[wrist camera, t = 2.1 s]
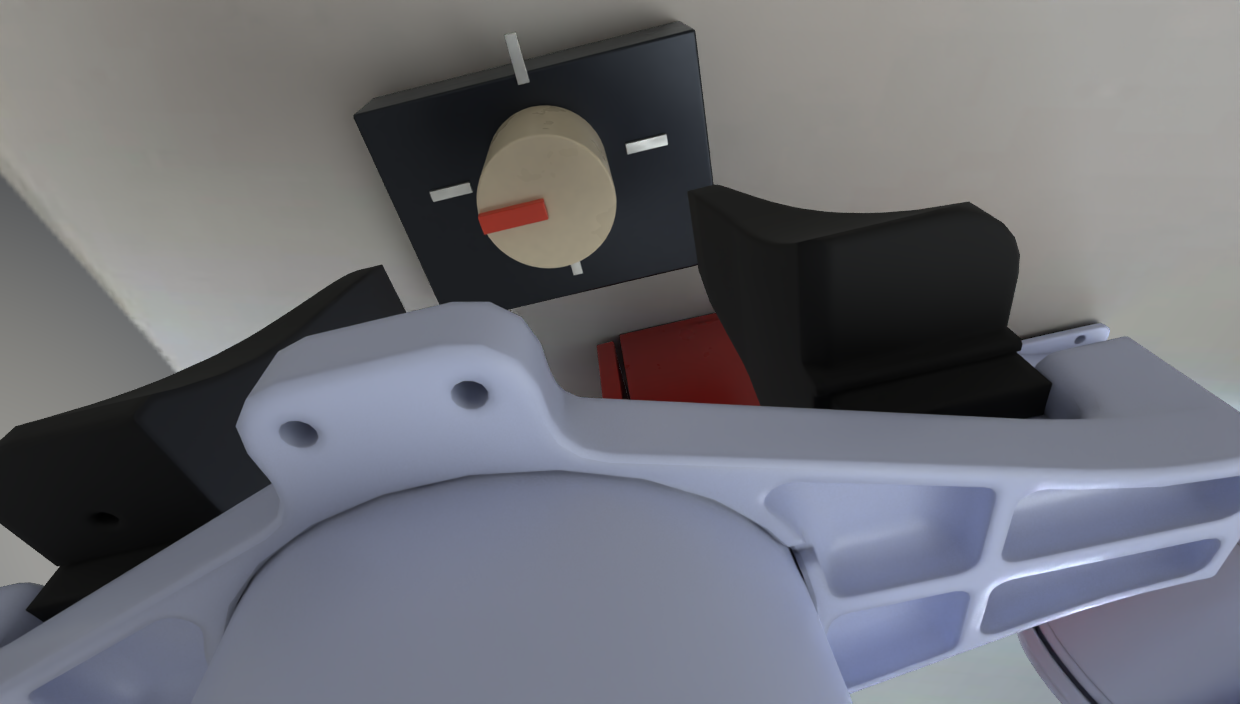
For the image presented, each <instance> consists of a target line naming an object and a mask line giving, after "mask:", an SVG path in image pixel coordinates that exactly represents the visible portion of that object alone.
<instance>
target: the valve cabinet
mask: <svg viewBox="0 0 1240 704" xmlns="http://www.w3.org/2000/svg"><path fill="white" fill-rule="evenodd" d="M620 343H621V349H622V355H623V360H624V366H625V372H626V378H627V384H628V389H629V395H630V400H647V401H668V402H688V403H709V404H729V405H750V406H760V403H759V401H758V398H757V395H756V393H755V390H754V388H753V385H752V382H751V380H750V377H749V375H748V373H747V371H746V368H745V366H744V364H743V362H742V360H741V358H740V357H739V355H738V353H737V351H736V349H735V347H734V346H733V344H732V342H731V340H730V338H729V336H728V335H727V333H726V331H725V329H724V327H723V325H722V324H721V322H720V320H719V318H718V316H717V314H716V313H712V314H708V315H704V316H699V317H695V318H691V319H686V320H682V321H678V322H673V323H669V324H665V325H660V326H656V327H652V328H647V329H643V330H639V331H634V332H630V333H626V334H621V335H620Z"/></svg>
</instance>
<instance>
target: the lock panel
mask: <svg viewBox="0 0 1240 704" xmlns="http://www.w3.org/2000/svg"><path fill="white" fill-rule="evenodd" d="M504 37H505V41H506V44H507V48H508V51H509V55H510V58H511V61H512V64H508V65H504V66H500V67H496V68H492V69H488V70H484V71H480V72H476V73H472V74H468V75H464V76H460V77H456V78H452V79H448V80H444V81H440V82H436V83H433V84H429V85H425V86H421V87H417V88H413V89H409V90H405V91H401V92H397V93H393V94H389V95H385V96H381V97H377V98H373V99H372V100H371V101H370V102H369V103H368V104H366V105H365V106H364V107H363V108H362V109H360V110H359V111H358V112H357V113H356V114H354V115H353V117H354V120H355V122H356V124H357V126H358V128H359V131H360V133H361V135H362V137H363V139H364V141H365V144H366V146H367V148H368V150H369V152H370V155H371V157H372V159H373V161H374V163H375V165H376V168H377V170H378V172H379V174H380V176H381V178H382V181H383V183H384V185H385V187H386V189H387V192H388V194H389V196H390V198H391V200H392V202H393V205H394V207H395V209H396V211H397V213H398V215H399V218H400V220H401V222H402V224H403V226H404V228H405V231H406V233H407V235H408V237H409V239H410V242H411V244H412V246H413V248H414V250H415V252H416V255H417V257H418V259H419V261H420V263H421V265H422V268H423V270H424V272H425V274H426V276H427V279H428V281H429V283H430V285H431V287H432V289H433V292H434V294H435V296H436V298H437V300H438V302H439V305H441V304H445V303H449V302H491V303H493V304H495V305H497V306H499V307H502V308H504V309H506V310H508V309H513V308H517V307H521V306H525V305H530V304H534V303H538V302H543V301H547V300H551V299H555V298H560V297H564V296H568V295H572V294H577V293H581V292H585V291H589V290H594V289H598V288H602V287H606V286H611V285H615V284H619V283H623V282H628V281H632V280H636V279H641V278H645V277H649V276H653V275H658V274H662V273H666V272H670V271H675V270H679V269H683V268H687V267H692V266H696V265H698V261H697V255H696V248H695V241H694V234H693V227H692V221H691V214H690V207H689V200H688V193H687V191H690V190H694V189H698V188H702V187H706V186H710V185H714V184H713V176H712V167H711V159H710V150H709V142H708V134H707V125H706V117H705V108H704V100H703V92H702V83H701V75H700V66H699V58H698V49H697V41H696V33H695V30H694V29H693V28H691V27H689V26H687V25H686V24H684V23H682V22H680V21H678V22H674V23H670V24H666V25H662V26H658V27H654V28H650V29H646V30H642V31H638V32H634V33H630V34H626V35H622V36H618V37H614V38H610V39H606V40H602V41H598V42H595V43H591V44H587V45H583V46H579V47H575V48H571V49H567V50H563V51H559V52H555V53H551V54H547V55H543V56H539V57H535V58H531V59H527V60H524V59H523V56H522V52H521V48H520V45H519V41H518V38H517V34H516V32H513V33H509V34H505V35H504ZM542 105H549V106H557V107H561V108H564V109H567V110H569V111H572V112H574V113H575V114H577V115H579V116H580V117H582V118H583V119H584V120H586V121H587V122H588V123H589V124H590V125H591V126H592V128H593V129H594V130H595V131H596V133H597V134H598V136H599V138H600V139H601V142H602V144H603V146H604V149H605V153H606V156H607V160H608V164H609V168H610V172H611V176H612V179H613V183H614V187H615V192H616V215H615V219H614V223H613V225H612V228H611V230H610V232H609V234H608V236H607V238H606V239H605V240H604V242H603V243H602V244H601V246H600V247H599V248H598V249H597V250H596V251H594V252H593V253H592V254H591V255H589V256H588V257H586V258H585V259H583V260H581V261H579V262H577V263H574V264H572V265H568V266H565V267H559V268H539V267H533V266H529V265H526V264H523V263H521V262H519V261H516V260H514V259H513V258H511V257H509V256H508V255H506V254H505V253H504V252H502V251H501V250H500V249H499V248H498V247H497V246H496V245H495V244H494V243H493V242H492V240H491V239H490V238H489V236H488V235H487V234H486V235H484V233H483V230H482V228H481V225H480V222H479V220H478V215H479V214H478V209H477V188H478V183H479V179H480V176H481V173H482V170H483V166H484V163H485V160H486V157H487V154H488V151H489V147H490V144H491V142H492V139H493V137H494V135H495V133H496V132H497V130H498V129H499V127H500V126H501V125H502V124H503V123H504V122H505V121H506V120H507V119H508V118H509V117H511V116H512V115H514V114H515V113H517V112H519V111H521V110H523V109H526V108H529V107H534V106H542Z"/></svg>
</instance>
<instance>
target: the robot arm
mask: <svg viewBox="0 0 1240 704" xmlns="http://www.w3.org/2000/svg"><path fill="white" fill-rule="evenodd" d="M687 193H688V200H689V207H690V214H691V221H692V227H693V234H694V241H695V248H696V255H697V261H698V268H699V272H700V275H701V278H702V281H703V284H704V287H705V290H706V293H707V295H708V298H709V301H710V303H711V305H712V307H713V309H714V311H715V312H716V314H717V316H718V318H719V320H720V322H721V324H722V325H723V327H724V329H725V331H726V333H727V335H728V336H729V338H730V340H731V342H732V344H733V346H734V347H735V349H736V351H737V353H738V355H739V357H740V358H741V360H742V362H743V364H744V366H745V368H746V371H747V373H748V375H749V377H750V380H751V382H752V385H753V388H754V390H755V393H756V395H757V398H758V401H759V403H760V406H750V405H729V404H709V403H688V402H668V401H647V400H627V399H606V398H586V397H578V396H576V395H573V394H571V393H569V392H567V391H565V390H563V389H562V388H561V387H560V386H559V385H558V384H557V382H556V380H555V378H554V376H553V375H552V373H551V371H550V368H549V365H548V362H547V360H546V357H545V354H544V351H543V348H542V346H541V343H540V341H539V340H538V338H537V337H536V336H535V334H534V333H533V332H532V330H531V329H530V328H529V326H528V325H527V323H526V322H525V321H524V319H523V318H522V317H521V316H519V315H516V314H514V313H512V312H510V311H508V310H506V309H504V308H502V307H499V306H497V305H495V304H493V303H491V302H449V303H445V304H441V305H437V306H432V307H428V308H424V309H420V310H415V311H411V312H407V313H406V311H405V309H404V307H403V305H402V303H401V301H400V299H399V297H398V295H397V293H396V291H395V289H394V287H393V285H392V283H391V281H390V279H389V277H388V275H387V273H386V271H385V269H384V267H383V265H378V266H374V267H370V268H366V269H361V270H357V271H355V272H352V273H350V274H348V275H346V276H344V277H342V278H340V279H338V280H337V281H335V282H333V283H332V284H330V285H329V286H327V287H326V288H324V289H323V290H321V291H320V292H318V293H317V294H315V295H314V296H312V297H311V298H309V299H308V300H306V301H305V302H303V303H302V304H300V305H299V306H297V307H296V308H294V309H293V310H291V311H290V312H288V313H287V314H285V315H284V316H282V317H280V318H279V319H277V320H276V321H274V322H273V323H271V324H269V325H268V326H266V327H265V328H263V329H262V330H260V331H259V332H257V333H255V334H253V335H252V336H250V337H248V338H247V339H245V340H243V341H241V342H239V343H238V344H236V345H234V346H232V347H230V348H228V349H226V350H224V351H222V352H220V353H219V354H217V355H215V356H213V357H211V358H209V359H206V360H204V361H202V362H200V363H197V364H195V365H193V366H191V367H188V368H186V369H184V370H182V371H179V372H177V373H175V374H173V375H171V376H168V377H166V378H163V379H161V380H159V381H156V382H153V383H151V384H148V385H146V386H143V387H140V388H138V389H135V390H132V391H129V392H127V393H124V394H121V395H118V396H116V397H112V398H110V399H107V400H104V401H100V402H97V403H95V404H91V405H88V406H84V407H81V408H78V409H74V410H71V411H68V412H64V413H61V414H57V415H54V416H51V417H48V418H44V419H41V420H37V421H33V422H29V423H26V424H23V425H19V426H15V427H14V428H13V429H12V430H11V431H10V432H9V433H8V434H7V435H6V436H5V437H3V438H2V439H1V440H0V524H2V525H3V526H4V527H6V528H7V529H8V530H10V531H11V532H12V533H13V534H15V535H16V536H17V537H19V538H20V539H21V540H23V541H24V542H25V543H27V544H28V545H30V546H31V547H32V548H33V549H35V550H36V551H37V552H39V553H40V554H41V555H43V556H44V557H45V558H47V559H48V560H49V561H51V562H52V563H53V564H55V565H56V566H60V567H59V568H58V570H57V571H56V572H55V573H54V575H53V576H52V577H51V578H50V580H49V581H48V582H47V583H46V585H45V586H43V585H40V584H35V583H17V584H12V585H7V586H3V587H0V704H853V702H852V700H851V697H850V695H849V694H851V693H854V692H856V691H859V690H862V689H865V688H867V687H870V686H873V685H876V684H878V683H881V682H884V681H887V680H889V679H892V678H895V677H897V676H900V675H903V674H906V673H908V672H911V671H914V670H917V669H919V668H922V667H925V666H928V665H930V664H933V663H936V662H939V661H941V660H944V659H947V658H949V657H952V656H955V655H958V654H960V653H963V652H966V651H969V650H971V649H974V648H977V647H980V646H982V645H985V644H988V643H991V642H993V641H996V640H999V639H1001V638H1004V637H1007V636H1010V635H1012V634H1015V633H1017V635H1018V638H1019V641H1020V643H1021V646H1022V648H1023V650H1024V652H1025V654H1026V655H1027V657H1028V659H1029V660H1030V662H1031V664H1032V665H1033V667H1034V668H1035V670H1036V671H1037V673H1038V674H1039V676H1040V677H1041V678H1042V680H1043V681H1044V682H1045V684H1046V685H1047V686H1048V688H1049V689H1050V690H1051V691H1052V693H1053V694H1054V695H1055V696H1056V698H1057V699H1058V700H1059V701H1060V702H1061V703H1062V704H1240V412H1239V411H1237V410H1236V409H1234V408H1233V407H1232V406H1230V405H1229V404H1227V403H1226V402H1224V401H1223V400H1221V399H1220V398H1218V397H1217V396H1215V395H1214V394H1212V393H1211V392H1209V391H1208V390H1206V389H1205V388H1203V387H1202V386H1200V385H1199V384H1197V383H1196V382H1194V381H1193V380H1192V379H1190V378H1189V377H1187V376H1186V375H1184V374H1183V373H1181V372H1180V371H1178V370H1177V369H1175V368H1174V367H1172V366H1171V365H1169V364H1168V363H1166V362H1165V361H1163V360H1162V359H1160V358H1159V357H1157V356H1156V355H1155V354H1153V353H1152V352H1150V351H1149V350H1147V349H1146V348H1144V347H1143V346H1141V345H1140V344H1138V343H1137V342H1135V341H1134V340H1132V339H1131V338H1129V337H1119V338H1115V339H1111V340H1107V339H1108V336H1109V333H1110V329H1109V327H1107V326H1106V325H1105V324H1102V323H1096V324H1092V325H1087V326H1083V327H1078V328H1074V329H1070V330H1065V331H1061V332H1056V333H1052V334H1047V335H1043V336H1038V337H1034V338H1029V339H1025V340H1021V338H1020V337H1019V336H1017V335H1016V334H1015V333H1014V332H1013V331H1011V330H1010V329H1009V328H1008V327H1007V325H1008V320H1009V315H1010V311H1011V306H1012V302H1013V297H1014V292H1015V288H1016V283H1017V279H1018V274H1019V259H1020V254H1019V250H1018V247H1017V243H1016V240H1015V237H1014V236H1013V234H1012V233H1011V232H1010V231H1009V229H1008V228H1007V227H1006V226H1005V225H1004V223H1002V222H1001V221H999V220H997V219H996V218H994V217H993V216H991V215H989V214H988V213H986V212H985V211H983V210H981V209H980V208H978V207H977V206H975V205H973V204H972V203H970V202H964V203H957V204H951V205H945V206H938V207H932V208H926V209H919V210H911V211H898V212H886V213H836V212H824V211H816V210H808V209H801V208H796V207H791V206H787V205H782V204H778V203H774V202H770V201H767V200H763V199H760V198H757V197H754V196H751V195H748V194H745V193H742V192H739V191H736V190H733V189H730V188H727V187H724V186H720V185H710V186H706V187H702V188H698V189H694V190H690V191H687Z"/></svg>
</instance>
